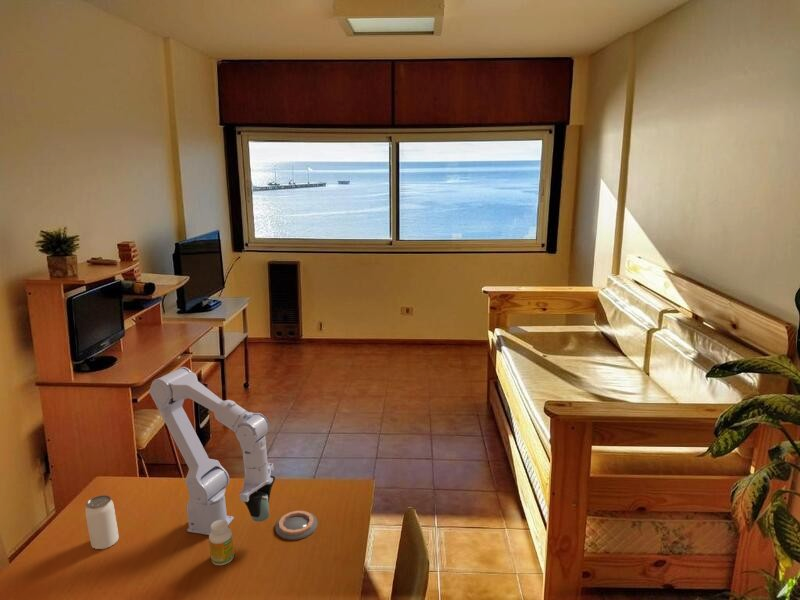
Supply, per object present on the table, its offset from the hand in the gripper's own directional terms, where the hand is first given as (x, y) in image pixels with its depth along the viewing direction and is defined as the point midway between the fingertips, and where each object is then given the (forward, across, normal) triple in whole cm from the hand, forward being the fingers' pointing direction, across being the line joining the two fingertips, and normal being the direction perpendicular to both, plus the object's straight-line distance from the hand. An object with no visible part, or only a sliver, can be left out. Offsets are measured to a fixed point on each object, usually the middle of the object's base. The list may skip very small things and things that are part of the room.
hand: (259, 510), depth 147 cm
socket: (+9, +7, -6) cm, 13 cm away
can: (+9, -10, +39) cm, 42 cm away
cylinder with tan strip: (+2, 0, 0) cm, 2 cm away
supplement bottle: (+9, -8, +6) cm, 14 cm away
